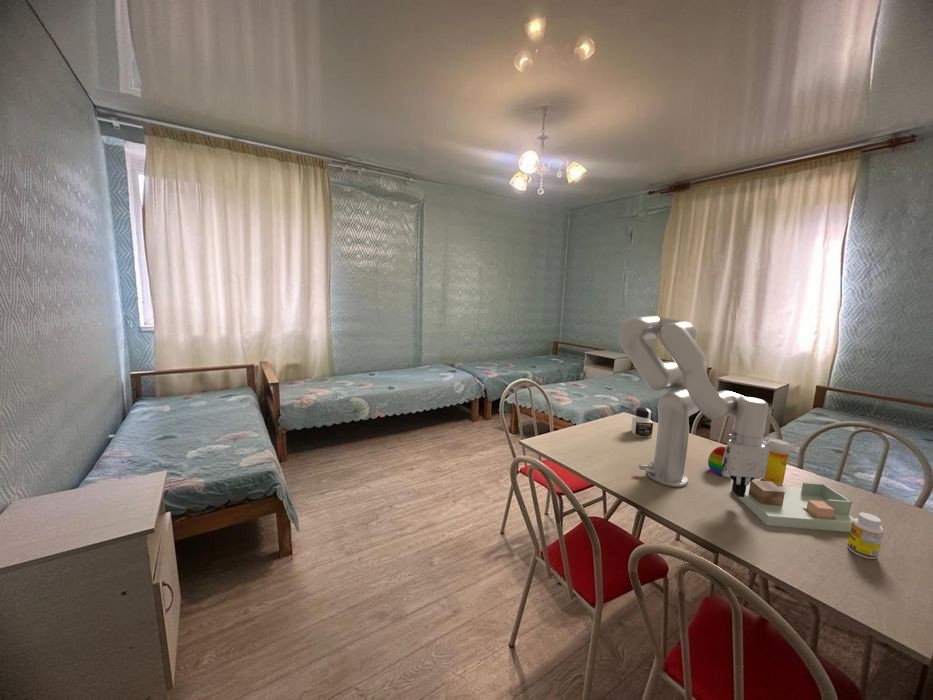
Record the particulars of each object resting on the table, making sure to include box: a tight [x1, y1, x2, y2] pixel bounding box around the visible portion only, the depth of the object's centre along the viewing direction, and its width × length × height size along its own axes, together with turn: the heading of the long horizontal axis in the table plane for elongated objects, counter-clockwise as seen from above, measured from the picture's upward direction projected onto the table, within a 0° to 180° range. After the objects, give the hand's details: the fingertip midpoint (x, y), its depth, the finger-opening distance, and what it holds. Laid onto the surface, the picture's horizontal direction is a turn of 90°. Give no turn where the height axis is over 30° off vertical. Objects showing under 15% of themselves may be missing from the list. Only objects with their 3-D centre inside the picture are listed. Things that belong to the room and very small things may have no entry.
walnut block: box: [749, 479, 785, 506], centre depth 117 cm, size 6×6×4 cm
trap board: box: [731, 481, 855, 533], centre depth 116 cm, size 24×18×7 cm
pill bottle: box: [760, 437, 791, 486], centre depth 133 cm, size 6×6×15 cm
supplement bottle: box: [847, 512, 885, 560], centre depth 98 cm, size 6×6×10 cm
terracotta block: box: [806, 500, 834, 519], centre depth 111 cm, size 4×4×6 cm
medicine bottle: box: [630, 407, 654, 439], centre depth 173 cm, size 7×7×12 cm
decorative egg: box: [707, 446, 726, 477], centre depth 139 cm, size 8×8×10 cm
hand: (738, 494), depth 118 cm, fingers closed
